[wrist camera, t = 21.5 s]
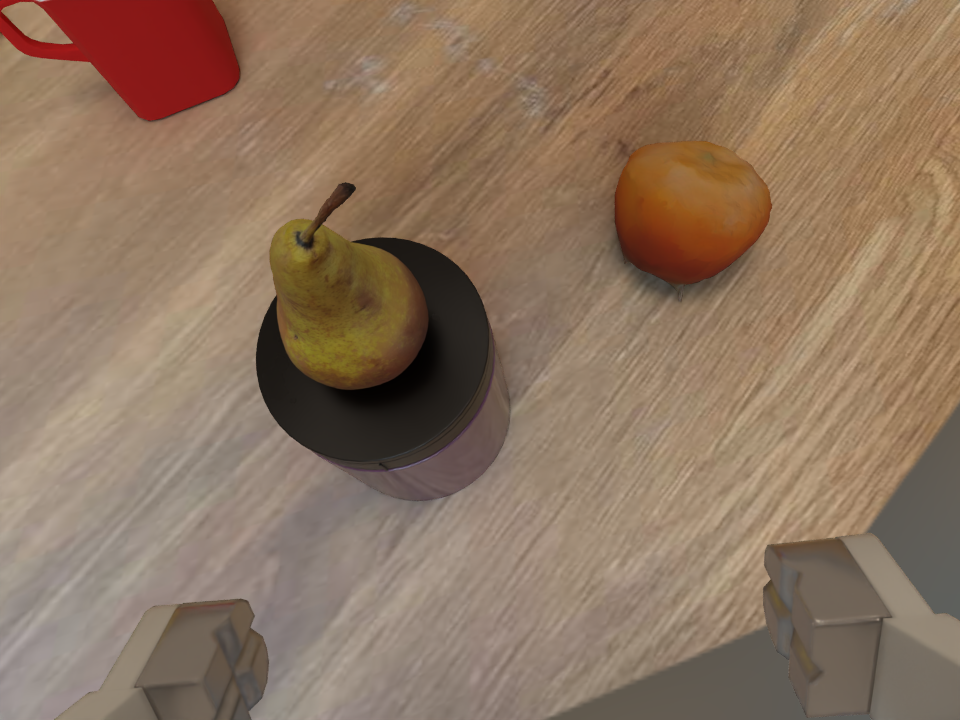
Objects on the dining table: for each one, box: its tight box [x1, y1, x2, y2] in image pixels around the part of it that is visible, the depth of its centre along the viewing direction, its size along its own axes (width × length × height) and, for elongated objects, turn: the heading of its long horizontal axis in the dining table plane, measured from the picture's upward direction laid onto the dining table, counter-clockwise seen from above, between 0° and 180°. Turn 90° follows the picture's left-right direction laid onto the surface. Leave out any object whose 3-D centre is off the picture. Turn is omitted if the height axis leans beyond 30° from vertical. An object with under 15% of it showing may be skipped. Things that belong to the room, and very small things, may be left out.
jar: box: [312, 321, 510, 501], centre depth 35 cm, size 10×10×10 cm
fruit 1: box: [270, 182, 429, 390], centre depth 24 cm, size 6×6×12 cm
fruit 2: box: [615, 141, 772, 301], centre depth 39 cm, size 8×8×8 cm
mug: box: [0, 0, 239, 121], centre depth 45 cm, size 12×8×11 cm
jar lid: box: [256, 237, 494, 471], centre depth 30 cm, size 10×10×2 cm
